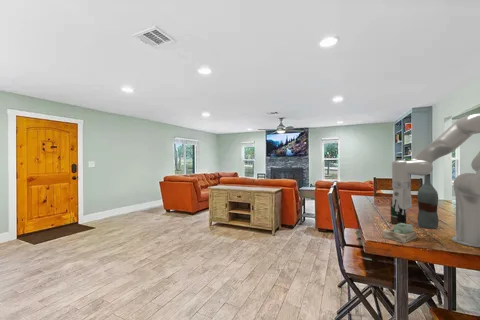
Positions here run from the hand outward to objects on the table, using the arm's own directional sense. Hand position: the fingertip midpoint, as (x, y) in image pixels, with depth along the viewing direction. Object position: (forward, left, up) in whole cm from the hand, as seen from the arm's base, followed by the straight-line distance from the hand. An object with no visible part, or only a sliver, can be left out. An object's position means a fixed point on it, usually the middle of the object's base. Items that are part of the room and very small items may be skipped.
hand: (401, 222), depth 114 cm
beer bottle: (+12, -24, -7) cm, 28 cm away
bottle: (0, -6, -4) cm, 7 cm away
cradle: (0, +2, -7) cm, 7 cm away
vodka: (0, -31, -7) cm, 32 cm away
